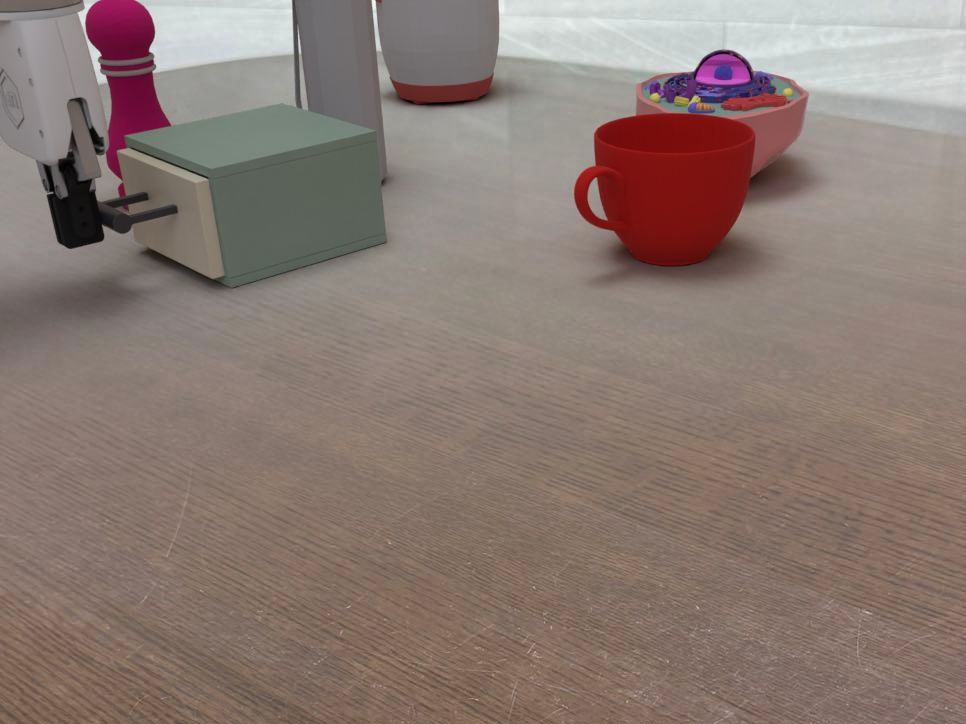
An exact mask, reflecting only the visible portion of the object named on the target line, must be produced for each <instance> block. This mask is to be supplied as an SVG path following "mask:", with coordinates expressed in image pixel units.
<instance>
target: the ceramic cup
mask: <svg viewBox="0 0 966 724" xmlns="http://www.w3.org/2000/svg"><path fill="white" fill-rule="evenodd" d="M593 149H594V162H595V163H594V165H593V166H592V165H591V166H589V167H587V168H585V169H584V170H583V171H581V173H580V174H579V175H578V177H577V178H576V181H575V184H574V187H573V198H574V203H575V207H576V209H577V211H578V213H579V214H580V215H581V217H582V218H583V219H584V220H585V221H586V222H587V223H588V224H590V225H592V226H594V227H596V228H598V229H603V230H606V231H611V232H614V234H615V235H616V236H617V238H618V239H619V240H620V241H621V243H622V244H623V245H624V246H625V247H626V248H627V249H628V250H629V252H630V253H631V255H632V257H634V259H636V260H638V261H640V262H643V263H646V264H651V265H655V266H669V267H672V266H673V267H674V266H685V265H692V264H695V263H699V262H701V261H703V260H706V259H707V258H708V257H709V256H710V253H712V251H714V249H715V248H717V247H718V245H720V243H721V242H722V241H723V240H724V239H725V238H726V236H727V235H728V234H729V233H730V231H731V229H732V228H733V227H734V225H735V224H736V222H737V220H738V218H739V216H740V215H741V212H742V209H743V207H744V204H745V201H746V198H747V195H748V194H747V193H748V190H749V186H750V181H751V178H750V176H751V170H752V164H753V157H754V149H755V132H754V131H753V129H752V128H751V127H749V126H748V125H746V124H744V123H742V122H739V121H736V120H732V119H729V118H724V117H719V116H712V115H704V114H691V113H658V114H645V115H637V116H636V115H630V116H627V117H620V118H617V119H614V120H611V121H608V122H606V123H603V124H601V125H600V126H598V127H597V128H596V130H595V131H594V133H593ZM595 179H596V182H597V188H598V194H599V198H600V204H601V206H602V209H603V213H604V215H605V218H606V219H603V218H600V217H598V216H597V215H596V214H595V213H594V211H593V210H592V208H591V206H590V203H589V197H588V196H589V188H590V186H591V184H592V182H593V181H594V180H595Z"/></svg>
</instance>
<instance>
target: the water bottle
mask: <svg viewBox="0 0 966 724" xmlns="http://www.w3.org/2000/svg"><path fill="white" fill-rule="evenodd" d="M291 11H292V12H291V14H292V15H291V16H292V43H293V71H294V100H295V105H296V106H295V107H297V108H300V109H303V104H302V97H301V95H302V94H301V74H300V73H301V70H300V55H301V61H302V69H303V78H304V86H305V95H306V103H307V111H311V112H314V113H317V114H321V115H324V116H328V117H331V118H334V119H338V120H341V121H345V122H348V123H352V124H355V125H358V126H362V127H365V128H369V129H372V130H376V132H377V144H378V155H379V166H380V176H381V182H383V180H384V179H385V178H386V177H387V175H388V163H387V153H386V141H385V130H384V119H383V111H382V110H383V108H382V97H381V87H380V76H379V75H380V74H379V64H378V54H377V41H376V31H375V21H374V11H373V0H291ZM299 46H300V47H299Z"/></svg>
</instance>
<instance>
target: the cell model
mask: <svg viewBox="0 0 966 724" xmlns="http://www.w3.org/2000/svg"><path fill="white" fill-rule="evenodd" d="M635 92H636V93H635V116H637V115H645V114H658V113H691V114H704V115H712V116H719V117H724V118H729V119H732V120H736V121H739V122H742V123H744V124H746V125H748V126H749V127H751V128H752V129H753V131H754V132H755V149H754V157H753V164H752V170H751V176H750V179H751V178H753V177H755V175H756V174H758V173H759V172H761V171H762V170H764V169H766V168H767V167H769V166H770V165H772V164H773V163H775V162H776V161H777V160H778V159H779V158H781V156H783V154H784V153H785V152H786V151H787V150H788V149H789V148H790V147H791V146H792V145H794V144H795V143H796V141H797V140H798V139H799V138H800V136H801V135H802V132H803V130H804V125H805V119H806V113H807V107H808V102H809V97H810V92H808V91H807V90H806V89H804V88H803V87H801V86H800V85H799V84H797V82H796V80H794V79H792V78H789V77H786V76H781V75H778V74H773V73H769V72H765V71H761V70H754V69H753V67H752V65H751V64H750V61H748V59H746V58H745V57H744V56H743V55H742V54H741V53H739V52H737V51H736V50H732V49H723V48H722V49H717V50H714V51H711V52H709V53H708V54H706V55H705V56H704V57H702V58H701V60H699V62H698V64H697V65H696V67H695V69H694V70H693V71H692V70H691V71H682V72H669V73H661V74H657V75H655V76H653V77H651V78H648V79H646V80H643V81H642V82H639V83H637V84H636V85H635Z"/></svg>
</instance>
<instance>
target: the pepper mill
mask: <svg viewBox="0 0 966 724" xmlns="http://www.w3.org/2000/svg"><path fill="white" fill-rule="evenodd" d="M153 19H154V18H153V17H152V15H151V14H150V11H149V9H147V7H146V6H145V5H143V4H142V3H141V2H139V1H138V0H97V1H95V2H94V3H93V4H92V5H91V6H90V7H89V8H88V10H87V13H86V15H85V22H84V25H85V32H86V37H87V39H88V41H89V43H90V44H91V45H92V46H93V47H94V48H95V49H96V50H97V51H98V52H99V53H100V55H99V56H98V58H97V62H98V64H99V67H100V69H99V72H100V74H102V75H103V76H105V78H106V82H107V84H108V88H109V93H110V101H111V104H110V106H111V107H110V111H111V112H110V116H109V117H110V118H109V123H108V127H107V129H108V136H109V148H108V150H107V152H106V153H105V159H106V165H107V167H108V169H109V170H110V171H111V172H112V173H113V174H114V176H115V177H117V178H118V179H119V180H121V183H119V185H118V186H117V191H118V196H119V197H124V196H126V193H125V189H124V184H123V179H122V174H121V169H120V165H119V160H118V155H117V151H118V150H122V149H127V145H126V142H125V137H124V136H125V135H130V134H135V133H140V132H145V131H149V130H154V129H159V128H164V127H169V126H173V125H172V123H171V122H170V120H169V119H168V117H167V116H166V114H165V112H164V111H163V109H162V106H161V104H160V101H159V98H158V95H157V91H156V87H155V80H154V71H155V70H156V69H157V64H156V63H155V60H154V59H155V54H154V53H153V52H151V51H150V48H151V46H152V44H153V42H154V40H155V37H156V27H155V23H154V20H153ZM119 197H118V198H119ZM122 207H123V208H124V209H127V210H129V208H128V205H126V206H122Z"/></svg>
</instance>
